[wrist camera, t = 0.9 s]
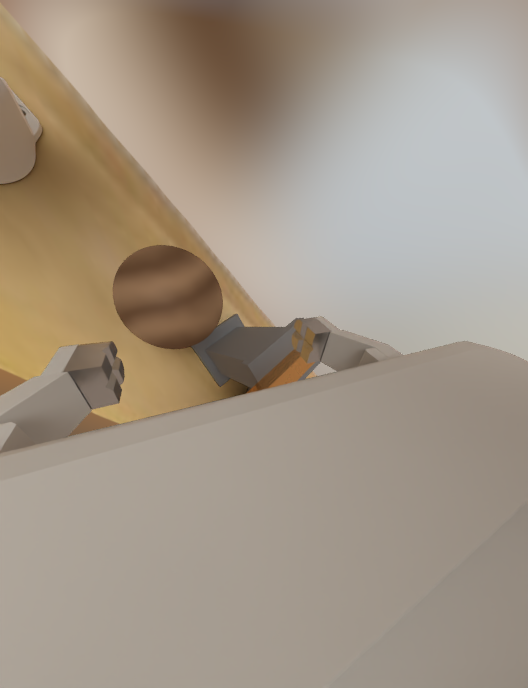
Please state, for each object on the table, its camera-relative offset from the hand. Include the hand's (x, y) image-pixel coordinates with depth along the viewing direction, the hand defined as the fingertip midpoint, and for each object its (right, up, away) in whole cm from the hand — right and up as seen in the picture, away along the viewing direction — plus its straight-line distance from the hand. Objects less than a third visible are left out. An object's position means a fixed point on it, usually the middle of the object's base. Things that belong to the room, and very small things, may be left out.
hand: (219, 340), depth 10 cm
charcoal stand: (-8, -2, +47) cm, 48 cm away
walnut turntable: (-13, +7, +24) cm, 28 cm away
